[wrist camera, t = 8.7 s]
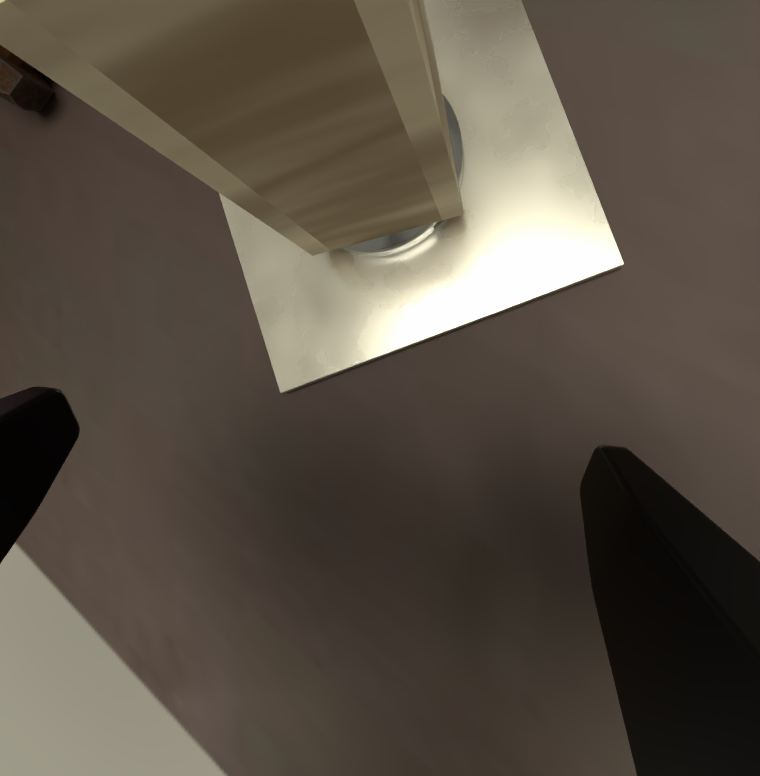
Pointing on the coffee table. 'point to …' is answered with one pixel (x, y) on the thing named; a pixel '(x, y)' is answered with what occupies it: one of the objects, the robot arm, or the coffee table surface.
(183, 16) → the sleeve
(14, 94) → the bolt
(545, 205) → the square metal plate
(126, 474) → the coffee table surface
